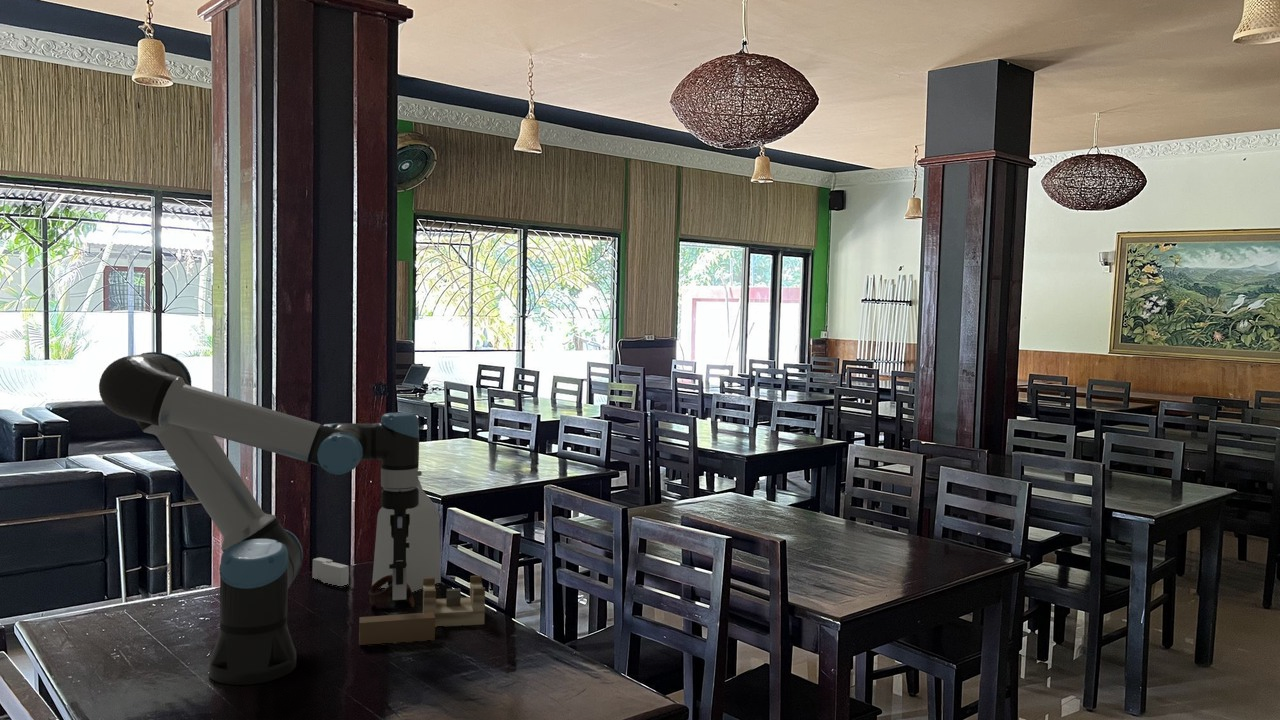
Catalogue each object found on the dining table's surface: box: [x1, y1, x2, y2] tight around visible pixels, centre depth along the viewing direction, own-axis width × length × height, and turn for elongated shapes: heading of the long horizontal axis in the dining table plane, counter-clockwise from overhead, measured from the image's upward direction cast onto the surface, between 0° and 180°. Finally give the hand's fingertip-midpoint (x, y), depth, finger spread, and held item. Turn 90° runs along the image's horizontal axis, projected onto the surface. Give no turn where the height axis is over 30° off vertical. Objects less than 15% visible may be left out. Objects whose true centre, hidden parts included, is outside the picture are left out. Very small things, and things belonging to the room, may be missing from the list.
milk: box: [371, 479, 442, 593], centre depth 226 cm, size 12×12×26 cm
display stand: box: [422, 574, 486, 628], centre depth 203 cm, size 10×13×8 cm
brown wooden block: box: [358, 612, 436, 645], centre depth 189 cm, size 4×15×5 cm, turn 108°
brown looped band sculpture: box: [368, 574, 416, 608], centre depth 211 cm, size 12×10×8 cm
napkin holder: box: [311, 557, 350, 587], centre depth 227 cm, size 15×11×6 cm
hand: (399, 589), depth 189 cm, fingers open, 13 cm apart
